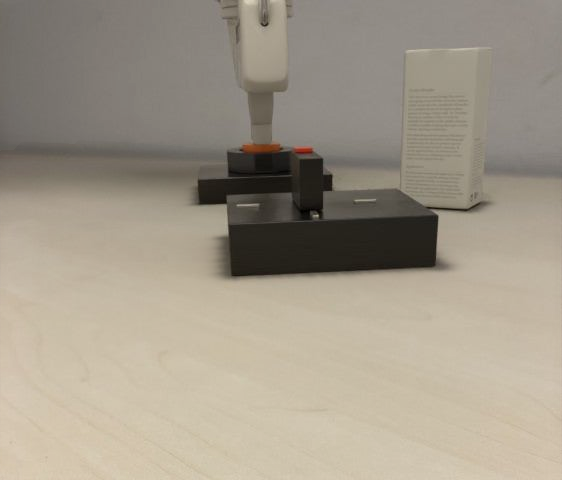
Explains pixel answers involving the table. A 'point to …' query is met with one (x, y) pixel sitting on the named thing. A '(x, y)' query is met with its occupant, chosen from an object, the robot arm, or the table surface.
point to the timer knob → (307, 178)
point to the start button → (261, 147)
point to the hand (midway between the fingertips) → (261, 143)
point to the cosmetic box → (445, 125)
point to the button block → (250, 175)
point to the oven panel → (330, 232)
